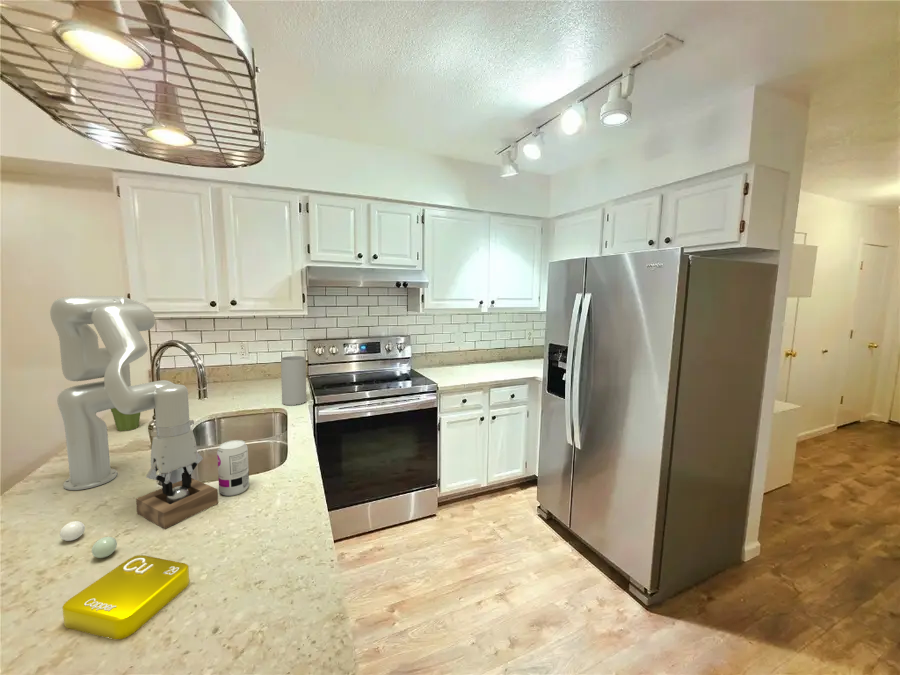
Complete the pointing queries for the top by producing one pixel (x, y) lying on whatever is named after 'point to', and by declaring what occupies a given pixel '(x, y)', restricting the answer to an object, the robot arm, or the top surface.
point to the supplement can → (233, 467)
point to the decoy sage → (104, 547)
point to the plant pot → (125, 420)
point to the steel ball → (178, 494)
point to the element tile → (126, 597)
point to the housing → (176, 504)
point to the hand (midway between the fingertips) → (177, 490)
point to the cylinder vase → (293, 380)
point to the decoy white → (72, 531)
